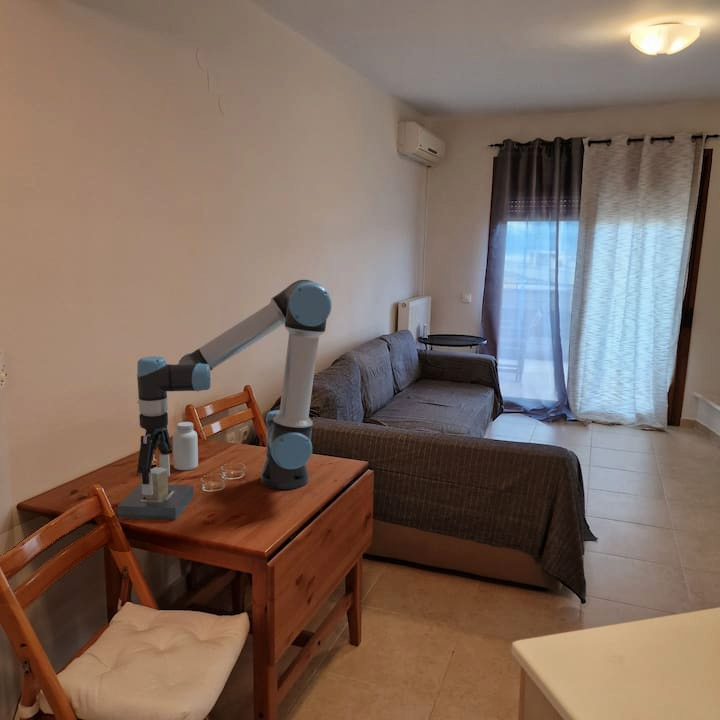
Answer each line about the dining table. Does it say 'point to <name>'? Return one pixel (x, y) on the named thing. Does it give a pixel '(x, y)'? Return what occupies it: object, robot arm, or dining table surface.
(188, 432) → the pill bottle
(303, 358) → the robot arm
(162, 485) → the box
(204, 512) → the dining table surface
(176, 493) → the base
